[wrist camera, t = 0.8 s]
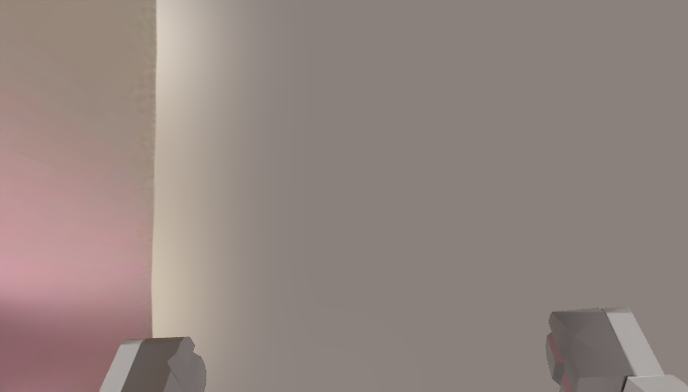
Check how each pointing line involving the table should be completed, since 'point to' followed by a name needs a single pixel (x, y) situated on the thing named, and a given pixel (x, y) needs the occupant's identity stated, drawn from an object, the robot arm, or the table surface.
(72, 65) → the table surface
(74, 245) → the table surface
